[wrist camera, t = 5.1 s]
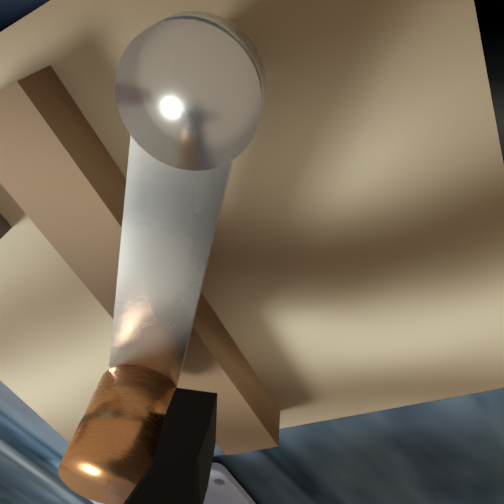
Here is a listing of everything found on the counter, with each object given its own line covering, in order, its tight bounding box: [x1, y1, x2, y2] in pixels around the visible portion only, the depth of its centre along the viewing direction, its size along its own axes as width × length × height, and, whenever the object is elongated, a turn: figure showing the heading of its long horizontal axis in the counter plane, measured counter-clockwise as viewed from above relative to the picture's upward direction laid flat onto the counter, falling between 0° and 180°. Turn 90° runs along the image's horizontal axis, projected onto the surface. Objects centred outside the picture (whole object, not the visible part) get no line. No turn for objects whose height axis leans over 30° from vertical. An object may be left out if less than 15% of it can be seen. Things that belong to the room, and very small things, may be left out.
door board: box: [0, 0, 504, 455], centre depth 13 cm, size 15×18×3 cm
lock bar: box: [58, 11, 267, 504], centre depth 9 cm, size 10×2×3 cm, turn 166°
